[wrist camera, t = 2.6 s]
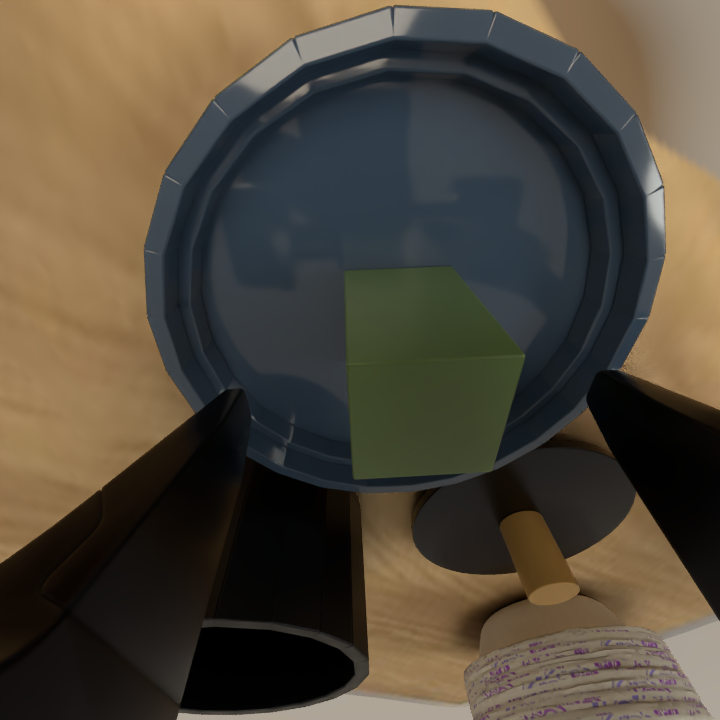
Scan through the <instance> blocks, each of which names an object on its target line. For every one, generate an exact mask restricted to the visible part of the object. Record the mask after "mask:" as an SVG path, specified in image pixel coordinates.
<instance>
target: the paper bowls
mask: <svg viewBox="0 0 720 720" xmlns="http://www.w3.org/2000/svg"><path fill="white" fill-rule="evenodd" d="M464 682H465V687H466V690H467V696H468V700H469V704H470V710H471V713H472V716H473V720H714V718H713V717H712V716H711V714H710V713H709V712H708V710H707V709H706V708H705V707H704V705H703V704H702V703H701V700H700V697H699V696H698V694H697V693H696V691H695V689H694V687H693V686H692V684H691V683H690V681H689V679H688V677H687V676H686V675H685V674H684V673H683V671H682V669H681V667H680V666H679V664H678V663H677V661H676V659H675V658H674V656H673V655H672V654H671V651H670V650H669V649H668V647H667V645H666V643H665V642H664V641H663V640H662V638H661V636H659V635H658V634H657V633H656V632H654V631H651V630H649V629H646V628H643V627H634V626H627V625H625V624H624V623H623V622H622V621H621V620H620V619H619V618H618V617H617V616H616V615H615V614H614V613H613V612H612V611H610V610H609V609H608V608H607V607H606V606H605V605H603V604H602V603H600V602H598V601H596V600H594V599H592V598H589V597H585V596H581V595H576V596H575V597H573V598H571V599H569V600H567V601H565V602H562V603H558V604H554V605H536V604H533V603H531V602H530V601H529V600H528V599H526V600H523V601H520V602H517V603H514V604H511V605H509V606H507V607H505V608H503V609H501V610H499V611H497V612H496V613H494V614H493V615H492V616H491V617H490V618H489V619H488V620H487V621H486V622H485V624H484V626H483V628H482V631H481V637H480V652H479V659H477V660H475V661H474V662H472V663H471V664H470V665H469V666H468V667H467V668H466V669H465V671H464Z"/></svg>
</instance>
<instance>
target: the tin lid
mask: <svg viewBox="0 0 720 720" xmlns="http://www.w3.org/2000/svg"><path fill="white" fill-rule="evenodd" d="M635 495H636V490H635V489H634V487H633V486H632V484H631V482H630V481H629V479H628V478H627V476H626V475H625V473H624V472H623V470H622V468H621V467H620V465H619V464H618V462H617V460H616V459H615V457H614V456H613V454H612V453H610V452H608V451H606V450H604V449H602V448H599V447H597V446H594V445H590V444H586V443H582V442H574V441H560V440H550V441H547V442H545V443H544V444H543V443H542V445H541V446H539V447H537V448H535V449H534V450H532V451H530V452H528V453H526V454H524V455H523V456H521V457H519V458H517V459H515V460H514V461H512V462H510V463H508V464H506V465H504V466H503V467H499V469H496V470H493V471H491V472H488V473H485V474H482V475H479V476H477V477H474V478H471V479H468V480H465V481H463V482H460V483H457V484H456V483H455V484H452V485H447V486H442V487H436V488H431V489H428V490H427V491H426V492H425V494H424V495H423V496H422V498H421V499H420V500H419V502H418V504H417V506H416V508H415V510H414V513H413V516H412V523H411V528H412V534H413V540H414V542H415V545H416V547H417V549H418V550H419V551H420V553H421V554H422V555H423V556H424V557H425V558H426V559H428V560H429V561H431V562H432V563H434V564H436V565H438V566H440V567H443V568H446V569H449V570H452V571H456V572H461V573H468V574H480V575H495V574H508V573H515V572H517V573H518V575H519V578H520V580H521V583H522V585H523V588H524V590H525V593H526V595H527V598H528V600H529V601H530V602H531V603H533V604H536V605H554V604H558V603H562V602H565V601H567V600H569V599H571V598H573V597H575V596H576V595H577V594H578V593H579V591H580V587H579V585H578V583H577V581H576V579H575V577H574V576H573V574H572V572H571V570H570V568H569V566H568V564H567V562H566V560H565V559H567V558H569V557H571V556H573V555H576V554H578V553H580V552H582V551H584V550H585V549H587V548H589V547H591V546H592V545H594V544H596V543H597V542H599V541H600V540H602V539H603V538H604V537H606V536H607V535H608V534H610V533H611V532H612V531H613V530H614V529H615V528H616V527H617V526H618V525H619V524H620V523H621V522H622V521H623V520H624V518H625V517H626V515H627V514H628V513H629V511H630V509H631V507H632V505H633V503H634V499H635Z"/></svg>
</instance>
